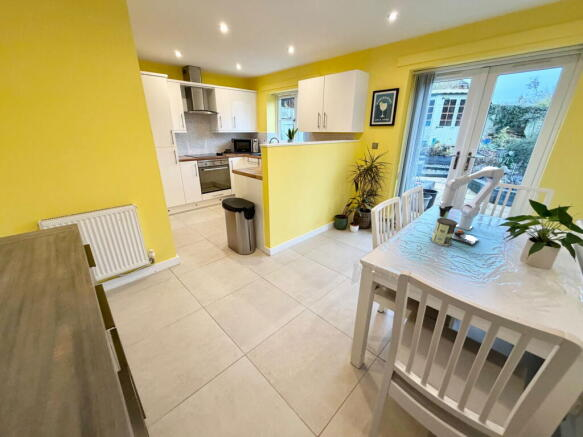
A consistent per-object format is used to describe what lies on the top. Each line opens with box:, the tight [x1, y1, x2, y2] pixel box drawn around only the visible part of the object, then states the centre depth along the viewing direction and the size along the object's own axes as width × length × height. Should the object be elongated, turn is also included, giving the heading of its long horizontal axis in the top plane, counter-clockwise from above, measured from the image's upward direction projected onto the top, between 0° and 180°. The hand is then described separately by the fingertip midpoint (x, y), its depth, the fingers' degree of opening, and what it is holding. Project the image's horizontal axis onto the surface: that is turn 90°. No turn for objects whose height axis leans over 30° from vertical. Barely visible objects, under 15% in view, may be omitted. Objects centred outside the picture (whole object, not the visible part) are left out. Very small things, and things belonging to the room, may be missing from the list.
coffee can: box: [431, 217, 458, 246], centre depth 139 cm, size 10×10×14 cm
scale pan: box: [461, 234, 476, 241], centre depth 141 cm, size 8×8×1 cm
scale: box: [451, 229, 479, 247], centre depth 145 cm, size 13×13×3 cm
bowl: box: [438, 211, 450, 219], centre depth 161 cm, size 5×5×4 cm
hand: (443, 215), depth 161 cm, fingers closed on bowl, 5 cm apart
